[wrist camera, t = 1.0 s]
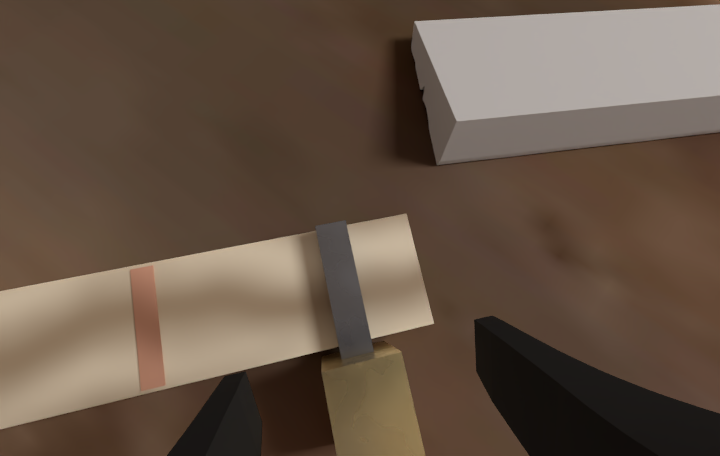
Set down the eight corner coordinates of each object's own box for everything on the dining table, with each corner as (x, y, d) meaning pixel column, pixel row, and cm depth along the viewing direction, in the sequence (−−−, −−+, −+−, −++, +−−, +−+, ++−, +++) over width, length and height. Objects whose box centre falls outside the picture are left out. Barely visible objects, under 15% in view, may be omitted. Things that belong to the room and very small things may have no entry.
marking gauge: (402, 424, 21) (426, 461, 16) (338, 443, 20) (342, 487, 15) (358, 227, 23) (368, 207, 18) (299, 239, 23) (293, 221, 18)
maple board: (426, 322, 22) (434, 323, 21) (-73, 443, 18) (-111, 456, 16) (401, 219, 23) (406, 213, 22) (-71, 310, 19) (-105, 310, 18)
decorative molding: (403, 77, 29) (436, 170, 25) (414, 21, 25) (456, 121, 21) (732, 51, 34) (810, 125, 30) (789, 0, 30) (889, 78, 25)
